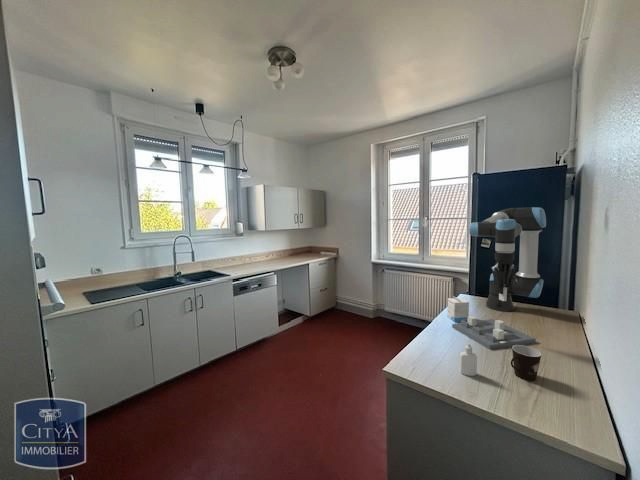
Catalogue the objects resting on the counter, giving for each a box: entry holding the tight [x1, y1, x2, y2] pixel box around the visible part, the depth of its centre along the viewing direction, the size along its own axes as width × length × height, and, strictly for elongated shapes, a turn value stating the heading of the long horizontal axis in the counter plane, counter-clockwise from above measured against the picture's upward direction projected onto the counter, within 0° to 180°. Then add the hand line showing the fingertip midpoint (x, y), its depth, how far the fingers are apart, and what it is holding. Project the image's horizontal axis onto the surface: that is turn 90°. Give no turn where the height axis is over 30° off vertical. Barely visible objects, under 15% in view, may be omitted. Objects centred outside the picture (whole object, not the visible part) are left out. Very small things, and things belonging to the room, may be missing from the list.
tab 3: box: [493, 328, 504, 340], centre depth 123 cm, size 3×3×4 cm
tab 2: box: [494, 319, 506, 330], centre depth 133 cm, size 3×3×4 cm
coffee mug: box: [510, 344, 542, 382], centre depth 98 cm, size 12×9×10 cm
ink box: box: [447, 295, 470, 323], centre depth 151 cm, size 9×8×13 cm
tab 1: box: [467, 315, 478, 326], centre depth 139 cm, size 3×3×4 cm
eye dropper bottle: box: [459, 342, 478, 377], centre depth 100 cm, size 4×6×12 cm
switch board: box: [451, 319, 537, 350], centre depth 132 cm, size 26×24×4 cm
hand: (502, 300), depth 125 cm, fingers closed
